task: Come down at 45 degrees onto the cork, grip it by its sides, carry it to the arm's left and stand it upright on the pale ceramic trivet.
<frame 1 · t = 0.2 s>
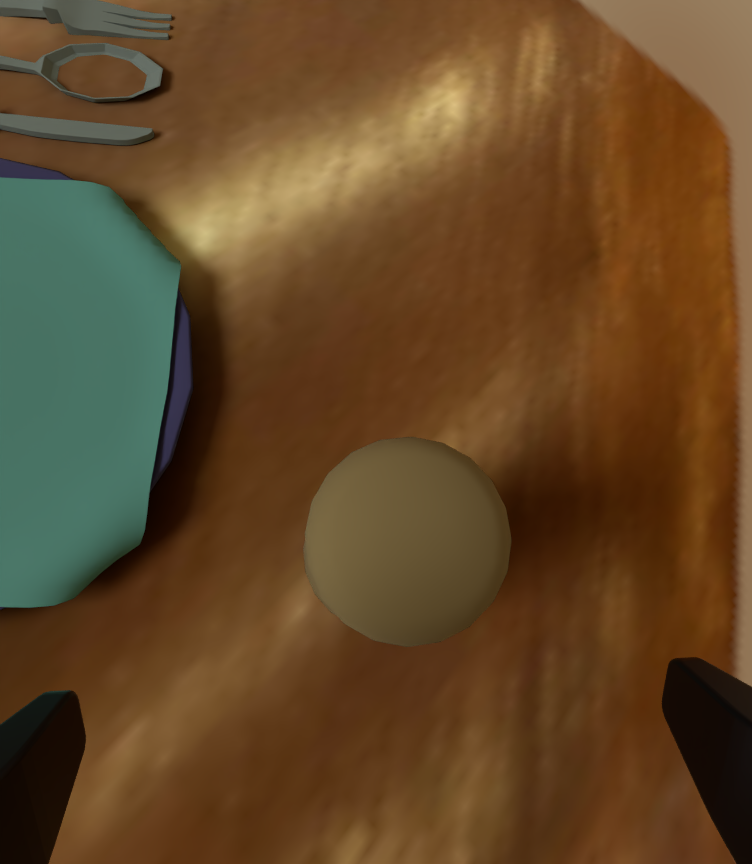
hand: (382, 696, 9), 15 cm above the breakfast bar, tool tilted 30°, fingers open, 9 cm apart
cork: (376, 551, 24), on the breakfast bar
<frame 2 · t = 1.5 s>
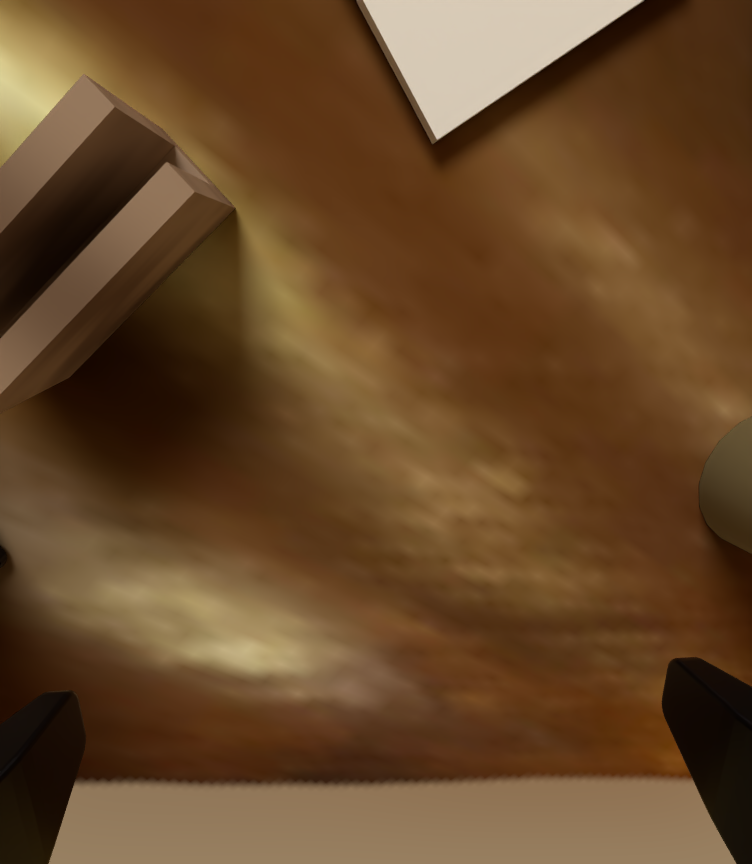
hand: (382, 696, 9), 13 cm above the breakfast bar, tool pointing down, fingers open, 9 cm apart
napkin holder: (113, 260, 19), on the breakfast bar
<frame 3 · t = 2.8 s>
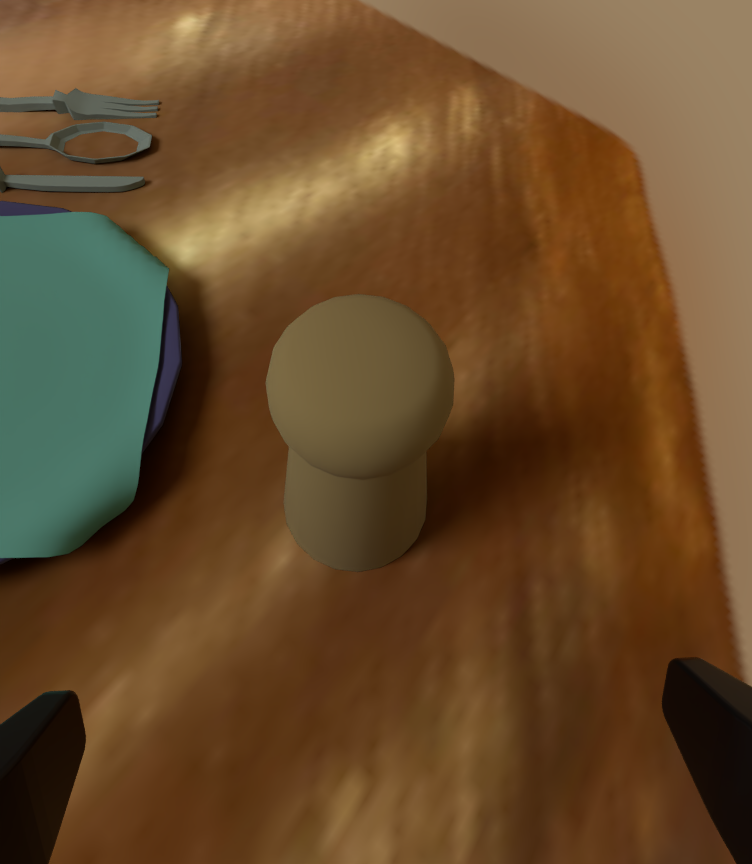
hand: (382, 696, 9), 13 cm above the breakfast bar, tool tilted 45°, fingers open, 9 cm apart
cork: (355, 501, 25), on the breakfast bar
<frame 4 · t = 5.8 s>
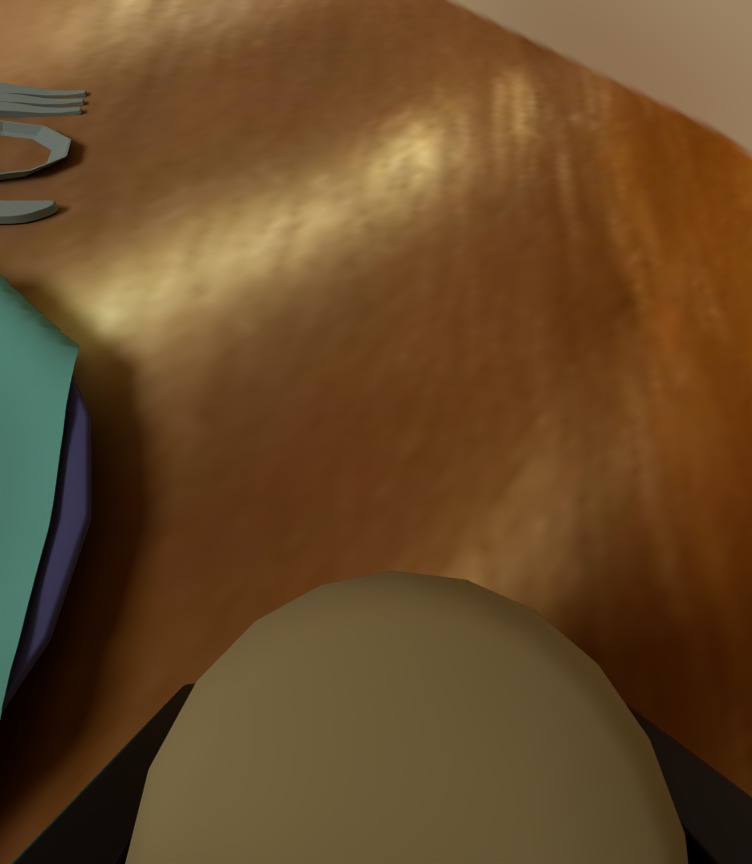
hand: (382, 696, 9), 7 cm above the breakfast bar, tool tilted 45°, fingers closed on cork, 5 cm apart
cork: (370, 772, 14), on the breakfast bar, touching gripper
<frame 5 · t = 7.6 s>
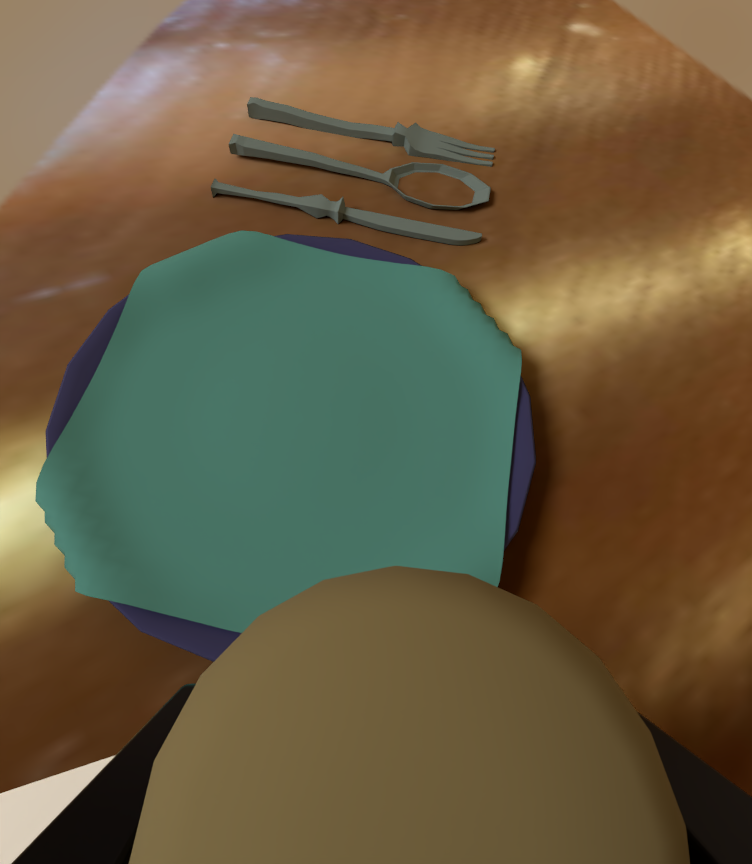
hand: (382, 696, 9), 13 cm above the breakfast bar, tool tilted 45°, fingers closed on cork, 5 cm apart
cork: (374, 768, 14), point 6 cm above the breakfast bar, touching gripper
cutlery set: (328, 342, 28), on the breakfast bar
when the fingers open (8 cm above the breakfast bar, at t = 9.5 s): cork stays where it is, resting on trivet.
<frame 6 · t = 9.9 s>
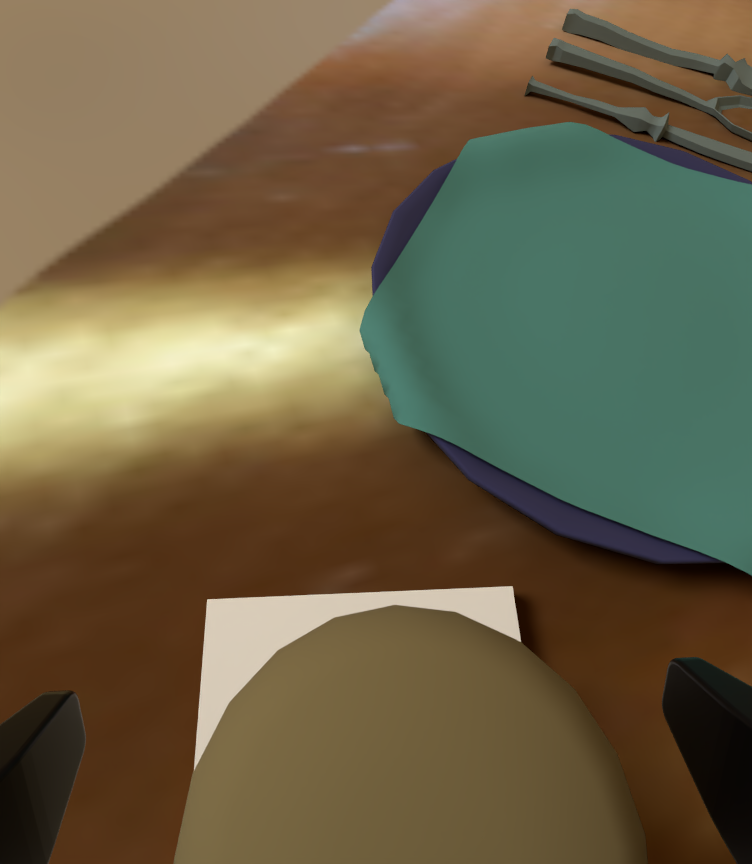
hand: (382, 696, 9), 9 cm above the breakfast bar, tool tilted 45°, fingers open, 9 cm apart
cork: (374, 776, 15), point 1 cm above the breakfast bar, touching trivet
cutlery set: (639, 254, 26), on the breakfast bar
trivet: (368, 766, 16), on the breakfast bar
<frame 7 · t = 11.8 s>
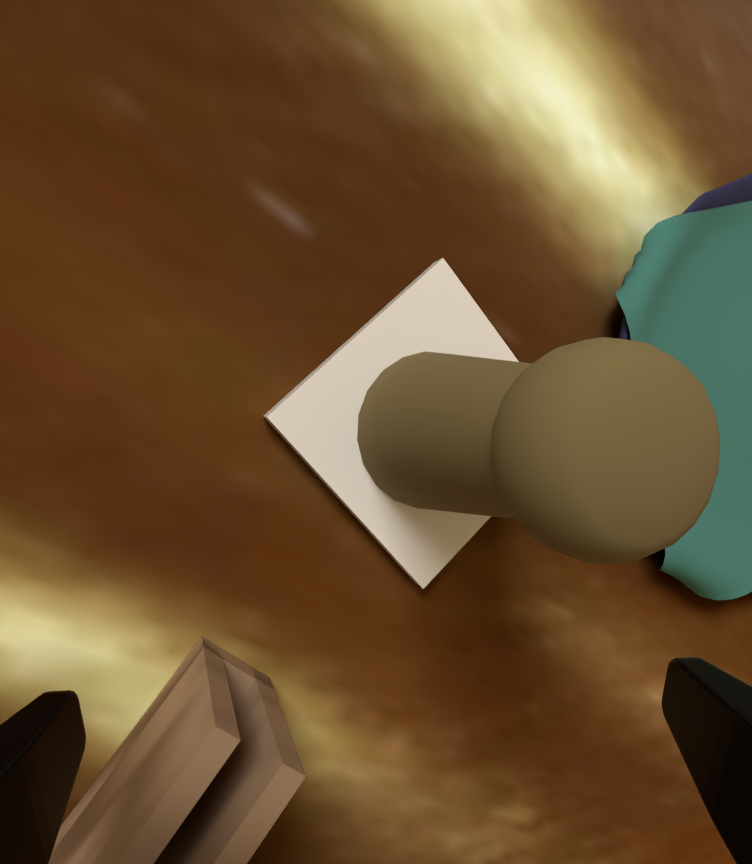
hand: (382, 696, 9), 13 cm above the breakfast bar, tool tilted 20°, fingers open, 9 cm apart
cork: (429, 430, 22), point 1 cm above the breakfast bar, touching trivet
napkin holder: (164, 755, 20), on the breakfast bar
trivet: (424, 424, 23), on the breakfast bar
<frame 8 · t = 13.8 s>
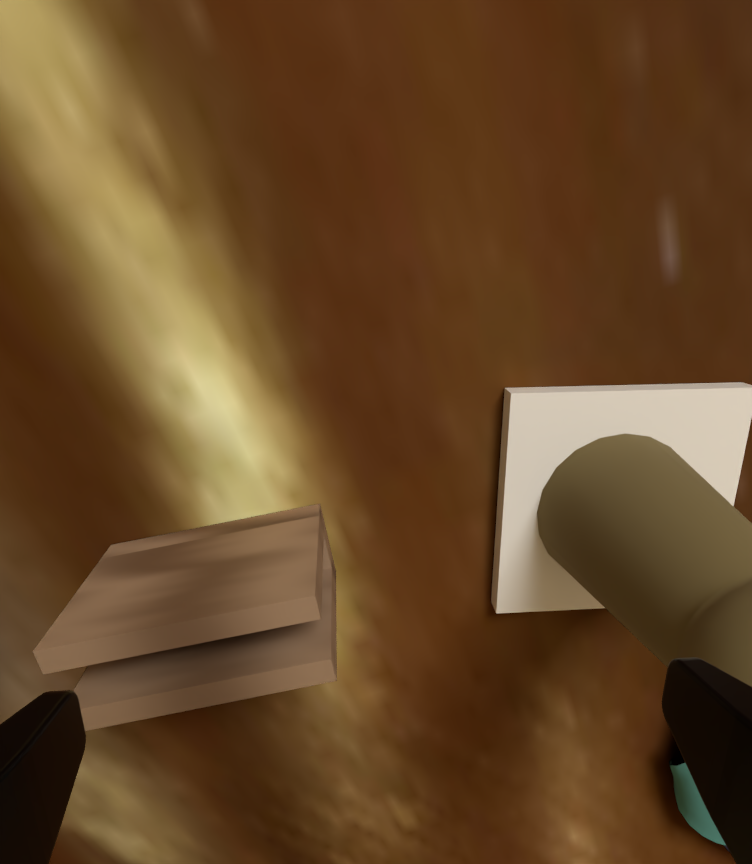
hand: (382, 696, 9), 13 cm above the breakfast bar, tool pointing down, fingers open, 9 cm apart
cork: (612, 506, 22), point 1 cm above the breakfast bar, touching trivet
napkin holder: (226, 558, 22), on the breakfast bar
trivet: (610, 497, 23), on the breakfast bar
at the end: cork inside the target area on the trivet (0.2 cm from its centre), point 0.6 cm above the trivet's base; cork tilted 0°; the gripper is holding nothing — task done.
